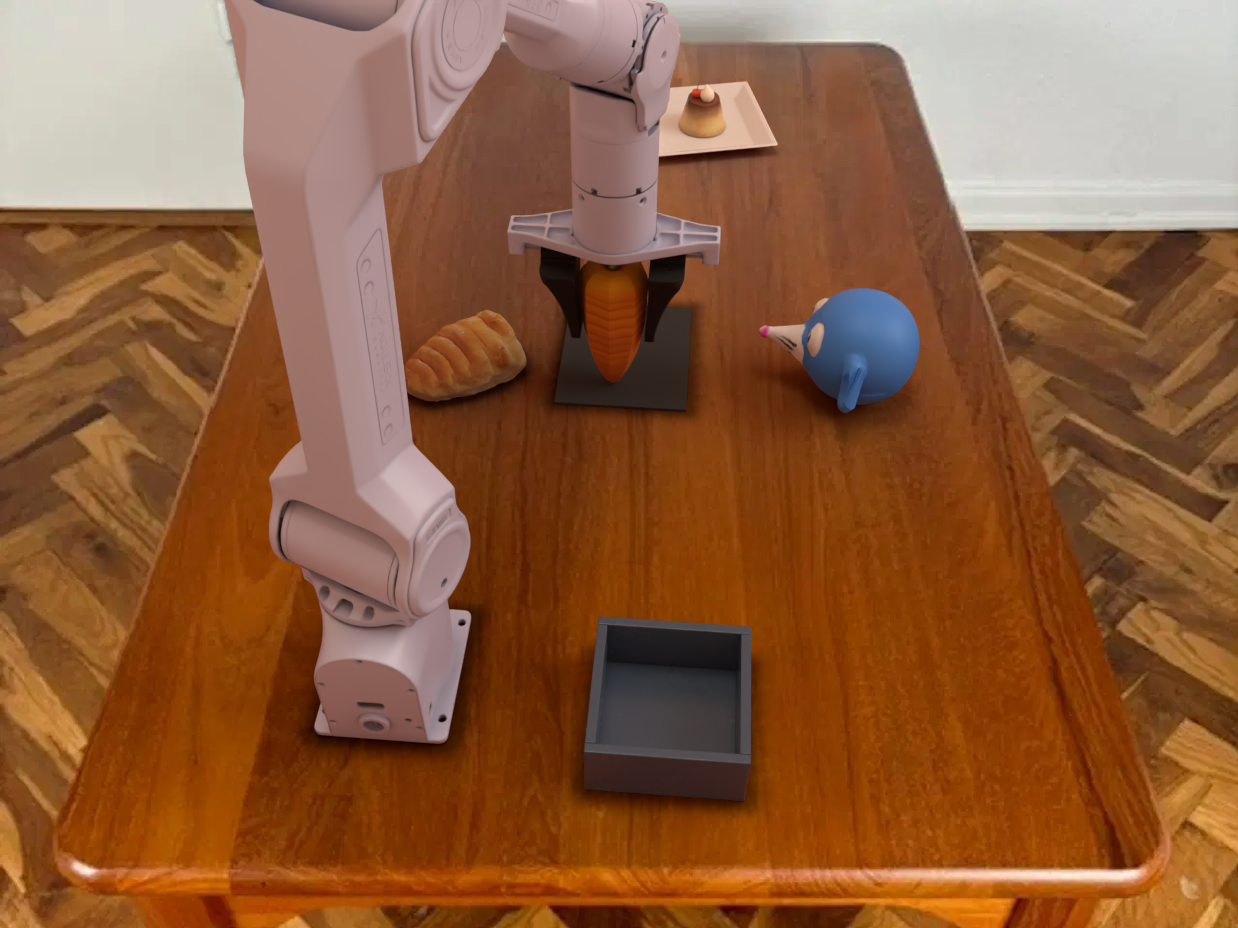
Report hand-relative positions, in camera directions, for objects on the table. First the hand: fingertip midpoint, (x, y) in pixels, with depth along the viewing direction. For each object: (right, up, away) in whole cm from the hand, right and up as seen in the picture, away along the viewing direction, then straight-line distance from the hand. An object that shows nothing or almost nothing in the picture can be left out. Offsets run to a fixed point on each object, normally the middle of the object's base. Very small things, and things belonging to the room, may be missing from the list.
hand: (613, 331), depth 88 cm
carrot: (0, -4, +4) cm, 5 cm away
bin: (+3, -26, -17) cm, 31 cm away
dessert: (+9, +23, +29) cm, 38 cm away
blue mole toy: (+17, -4, +4) cm, 18 cm away
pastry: (-11, -3, +5) cm, 13 cm away
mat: (+1, -1, +6) cm, 6 cm away
